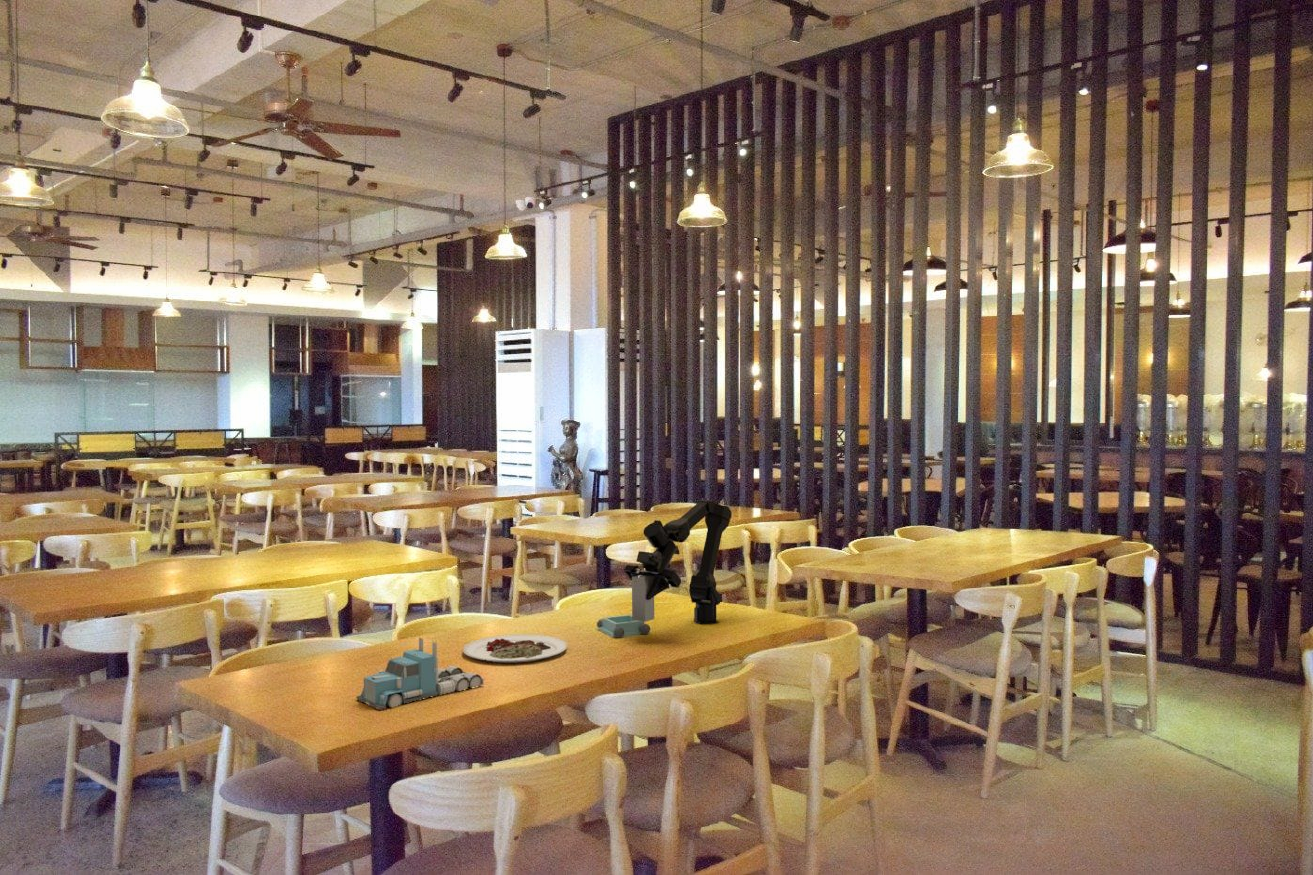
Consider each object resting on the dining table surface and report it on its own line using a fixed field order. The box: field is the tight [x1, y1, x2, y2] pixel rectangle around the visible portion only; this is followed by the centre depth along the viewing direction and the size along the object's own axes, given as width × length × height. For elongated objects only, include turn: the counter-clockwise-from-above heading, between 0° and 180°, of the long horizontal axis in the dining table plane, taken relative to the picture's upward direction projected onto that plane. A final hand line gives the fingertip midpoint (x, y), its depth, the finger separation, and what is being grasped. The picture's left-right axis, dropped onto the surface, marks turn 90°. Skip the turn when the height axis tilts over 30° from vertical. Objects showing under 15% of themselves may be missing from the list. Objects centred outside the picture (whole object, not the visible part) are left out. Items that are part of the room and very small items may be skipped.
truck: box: [355, 636, 485, 711], centre depth 238 cm, size 12×29×15 cm, turn 134°
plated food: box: [462, 634, 568, 664], centre depth 279 cm, size 30×30×3 cm
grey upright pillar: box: [631, 575, 655, 623], centre depth 290 cm, size 4×5×13 cm
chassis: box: [596, 614, 651, 639], centre depth 303 cm, size 12×14×4 cm
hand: (640, 598), depth 289 cm, fingers closed on grey upright pillar, 5 cm apart
